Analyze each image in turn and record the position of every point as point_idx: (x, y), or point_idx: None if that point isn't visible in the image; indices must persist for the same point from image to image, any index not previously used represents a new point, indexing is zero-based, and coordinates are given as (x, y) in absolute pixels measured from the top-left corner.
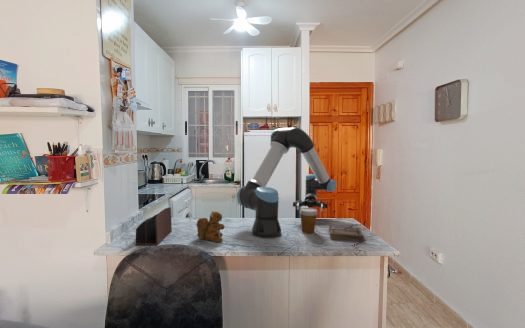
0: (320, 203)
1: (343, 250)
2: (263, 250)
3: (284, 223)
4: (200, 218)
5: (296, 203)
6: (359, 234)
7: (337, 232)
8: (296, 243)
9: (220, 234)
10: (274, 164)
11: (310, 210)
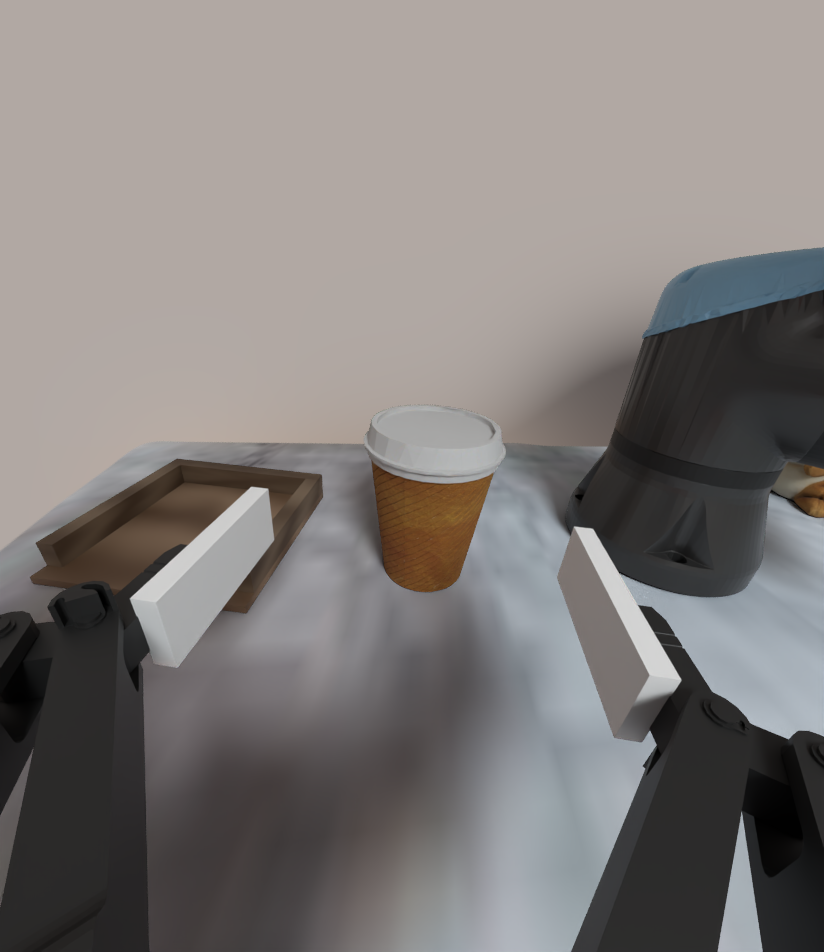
0: (114, 668)
1: (320, 444)
2: (558, 446)
3: None
4: None
5: (708, 699)
6: (157, 486)
7: None
8: None
9: (803, 500)
10: None
11: (421, 427)
